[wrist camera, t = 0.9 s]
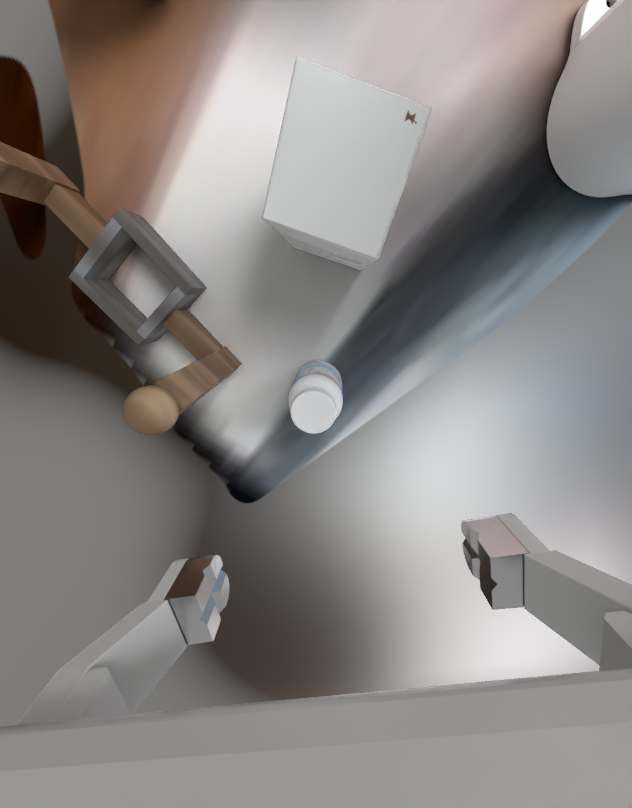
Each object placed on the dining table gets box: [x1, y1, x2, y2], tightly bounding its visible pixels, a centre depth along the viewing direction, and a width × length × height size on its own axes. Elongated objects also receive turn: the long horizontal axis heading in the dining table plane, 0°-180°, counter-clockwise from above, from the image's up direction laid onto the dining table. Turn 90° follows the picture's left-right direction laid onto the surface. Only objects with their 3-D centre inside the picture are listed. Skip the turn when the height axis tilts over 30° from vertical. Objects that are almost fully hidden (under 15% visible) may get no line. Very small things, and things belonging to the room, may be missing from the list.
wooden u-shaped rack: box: [0, 142, 241, 435], centre depth 28 cm, size 10×30×19 cm, turn 40°
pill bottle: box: [288, 360, 343, 434], centre depth 35 cm, size 6×6×11 cm
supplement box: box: [262, 57, 432, 271], centre depth 26 cm, size 9×9×15 cm
